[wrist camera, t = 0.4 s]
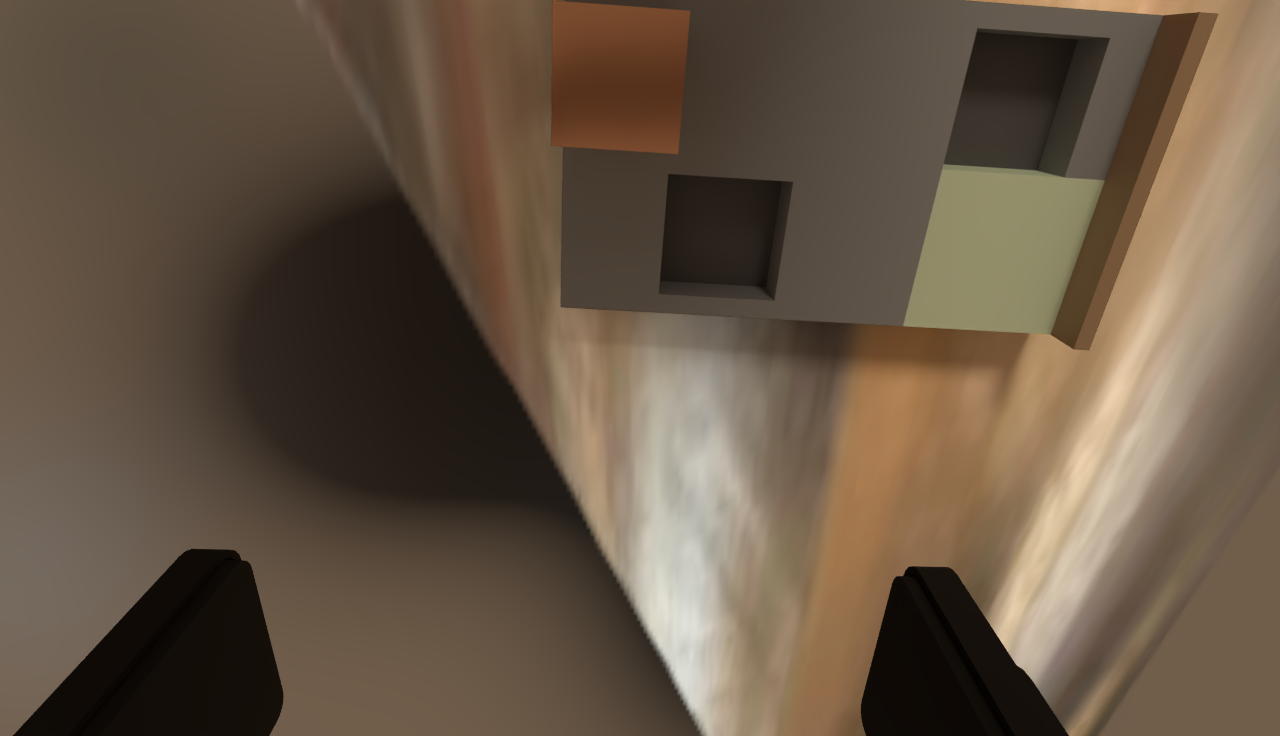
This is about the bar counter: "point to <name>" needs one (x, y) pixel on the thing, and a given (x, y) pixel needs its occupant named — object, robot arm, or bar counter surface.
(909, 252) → the deck
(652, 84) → the block
